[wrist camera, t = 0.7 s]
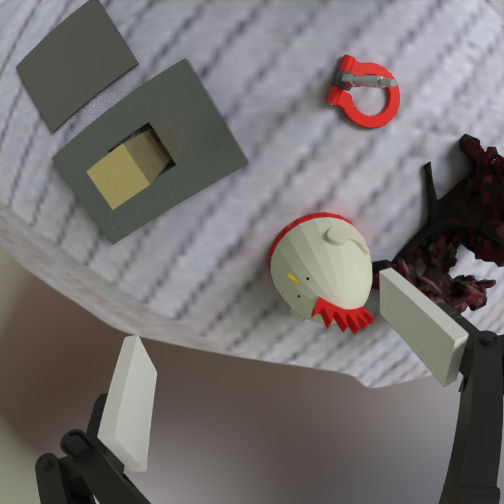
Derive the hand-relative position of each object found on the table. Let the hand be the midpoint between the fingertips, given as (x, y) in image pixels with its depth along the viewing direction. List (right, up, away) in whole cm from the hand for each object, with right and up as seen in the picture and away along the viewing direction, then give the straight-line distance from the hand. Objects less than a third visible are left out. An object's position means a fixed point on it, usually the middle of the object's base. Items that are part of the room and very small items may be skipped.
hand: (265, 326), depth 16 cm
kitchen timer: (+9, +3, +28) cm, 30 cm away
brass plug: (-13, +16, +19) cm, 28 cm away
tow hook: (+13, +23, +18) cm, 32 cm away
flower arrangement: (+29, +7, +28) cm, 41 cm away
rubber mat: (-23, +27, +12) cm, 37 cm away
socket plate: (-13, +16, +19) cm, 28 cm away
